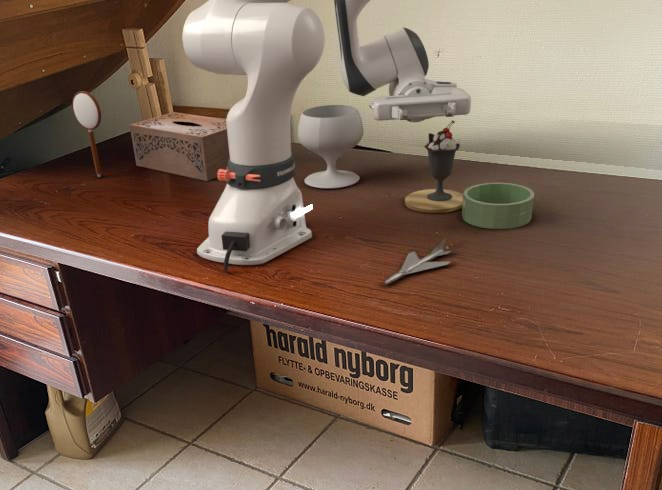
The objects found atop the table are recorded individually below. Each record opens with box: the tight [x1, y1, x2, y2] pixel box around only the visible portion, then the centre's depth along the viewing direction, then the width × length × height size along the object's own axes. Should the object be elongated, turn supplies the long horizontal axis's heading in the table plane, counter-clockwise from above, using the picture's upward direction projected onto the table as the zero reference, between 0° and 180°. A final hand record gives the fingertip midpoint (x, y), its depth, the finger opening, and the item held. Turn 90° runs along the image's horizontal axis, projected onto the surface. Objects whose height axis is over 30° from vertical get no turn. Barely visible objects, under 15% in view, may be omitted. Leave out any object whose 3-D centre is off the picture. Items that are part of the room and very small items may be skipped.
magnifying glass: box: [71, 90, 102, 178], centre depth 170 cm, size 9×2×20 cm, turn 57°
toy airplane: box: [383, 238, 458, 286], centre depth 118 cm, size 8×21×2 cm, turn 135°
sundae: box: [424, 120, 461, 201], centre depth 140 cm, size 7×7×15 cm
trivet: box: [404, 188, 463, 214], centre depth 143 cm, size 12×12×1 cm
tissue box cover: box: [129, 111, 230, 182], centre depth 175 cm, size 26×14×10 cm, turn 48°
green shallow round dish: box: [461, 182, 535, 230], centre depth 133 cm, size 12×13×4 cm
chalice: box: [297, 104, 364, 189], centre depth 156 cm, size 14×14×15 cm
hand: (427, 114), depth 146 cm, fingers open, 8 cm apart
